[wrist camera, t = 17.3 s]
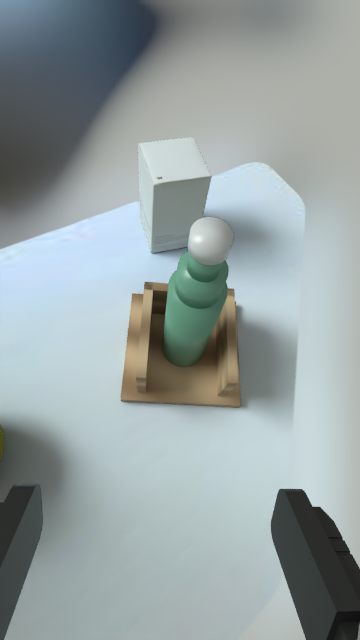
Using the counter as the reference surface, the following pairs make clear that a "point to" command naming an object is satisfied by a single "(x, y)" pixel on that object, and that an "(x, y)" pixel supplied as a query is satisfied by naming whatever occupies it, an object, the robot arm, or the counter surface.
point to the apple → (1, 442)
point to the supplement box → (171, 191)
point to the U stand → (173, 381)
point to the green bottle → (197, 292)
